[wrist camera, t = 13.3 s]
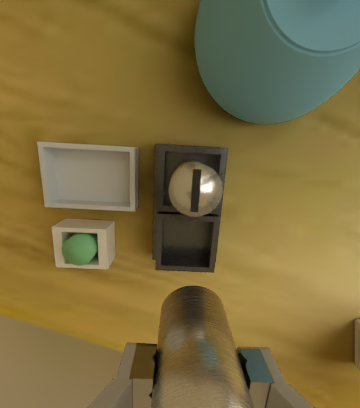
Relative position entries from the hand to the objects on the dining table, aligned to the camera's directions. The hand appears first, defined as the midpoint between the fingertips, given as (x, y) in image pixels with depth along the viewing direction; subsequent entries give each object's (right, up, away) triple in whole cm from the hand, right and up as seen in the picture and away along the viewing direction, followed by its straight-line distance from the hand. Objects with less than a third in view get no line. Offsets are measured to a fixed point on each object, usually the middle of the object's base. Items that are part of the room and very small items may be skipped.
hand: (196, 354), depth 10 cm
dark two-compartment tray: (0, +7, +15) cm, 16 cm away
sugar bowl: (+8, +23, +11) cm, 27 cm away
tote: (-11, +11, +14) cm, 20 cm away
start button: (-12, +3, +14) cm, 19 cm away
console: (-12, +3, +16) cm, 20 cm away
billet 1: (0, +10, +13) cm, 16 cm away
